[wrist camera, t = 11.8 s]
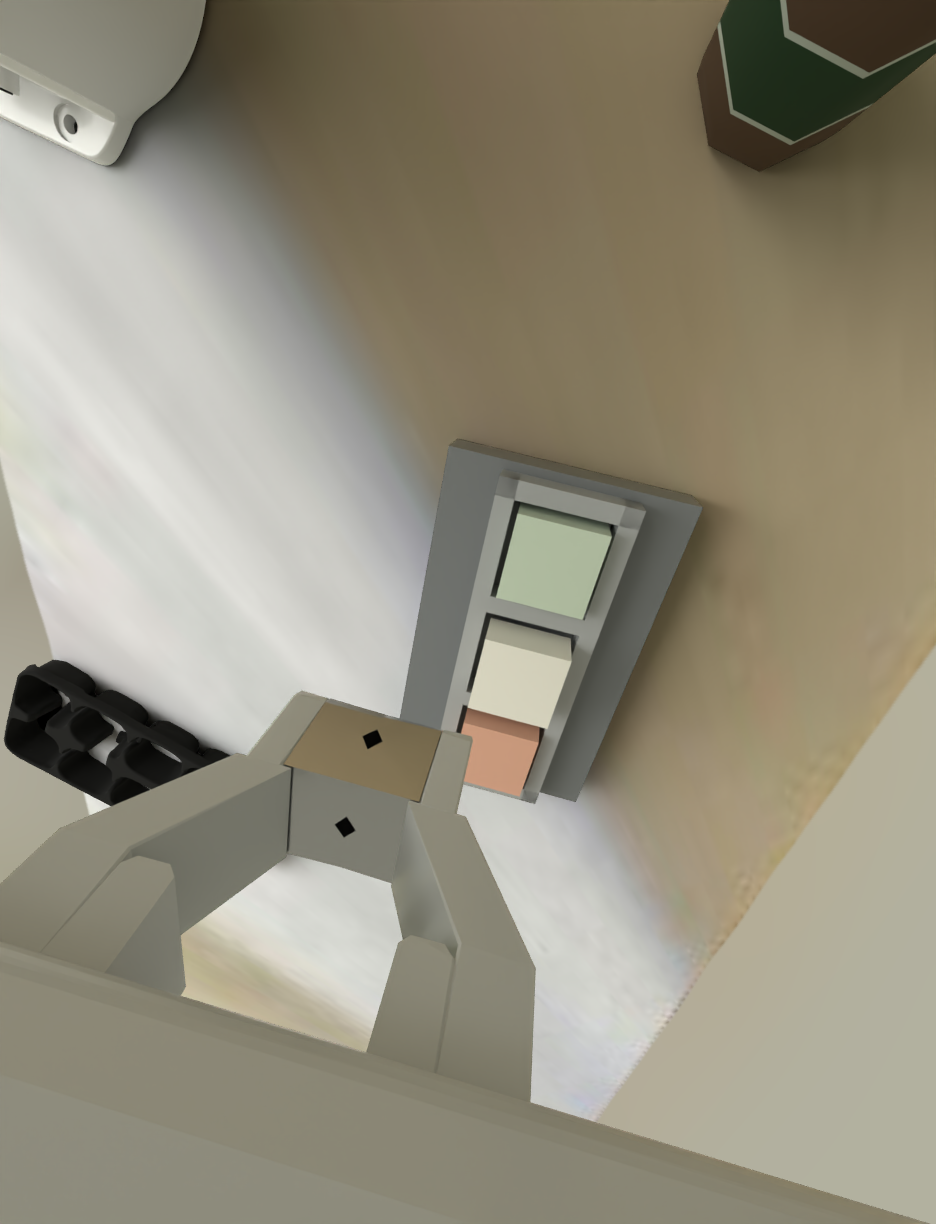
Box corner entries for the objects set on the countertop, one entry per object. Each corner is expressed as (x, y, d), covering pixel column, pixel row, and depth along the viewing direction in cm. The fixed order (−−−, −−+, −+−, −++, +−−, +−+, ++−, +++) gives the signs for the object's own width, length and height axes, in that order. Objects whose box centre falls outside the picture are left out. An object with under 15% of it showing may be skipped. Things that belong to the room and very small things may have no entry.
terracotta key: (456, 751, 43) (449, 777, 40) (470, 698, 40) (463, 722, 37) (522, 768, 42) (519, 796, 40) (540, 716, 40) (538, 742, 37)
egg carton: (29, 638, 50) (-9, 658, 46) (317, 752, 50) (300, 780, 47) (38, 761, 58) (6, 786, 55) (286, 858, 59) (270, 888, 55)
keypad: (403, 729, 47) (386, 768, 42) (457, 438, 35) (442, 451, 30) (574, 776, 46) (576, 820, 42) (691, 495, 34) (711, 516, 29)
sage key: (500, 579, 35) (495, 597, 33) (521, 500, 33) (517, 513, 30) (580, 599, 35) (582, 619, 32) (607, 521, 32) (611, 536, 30)
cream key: (474, 682, 38) (467, 707, 35) (490, 617, 35) (485, 639, 33) (548, 702, 38) (547, 729, 35) (570, 638, 35) (571, 661, 32)
